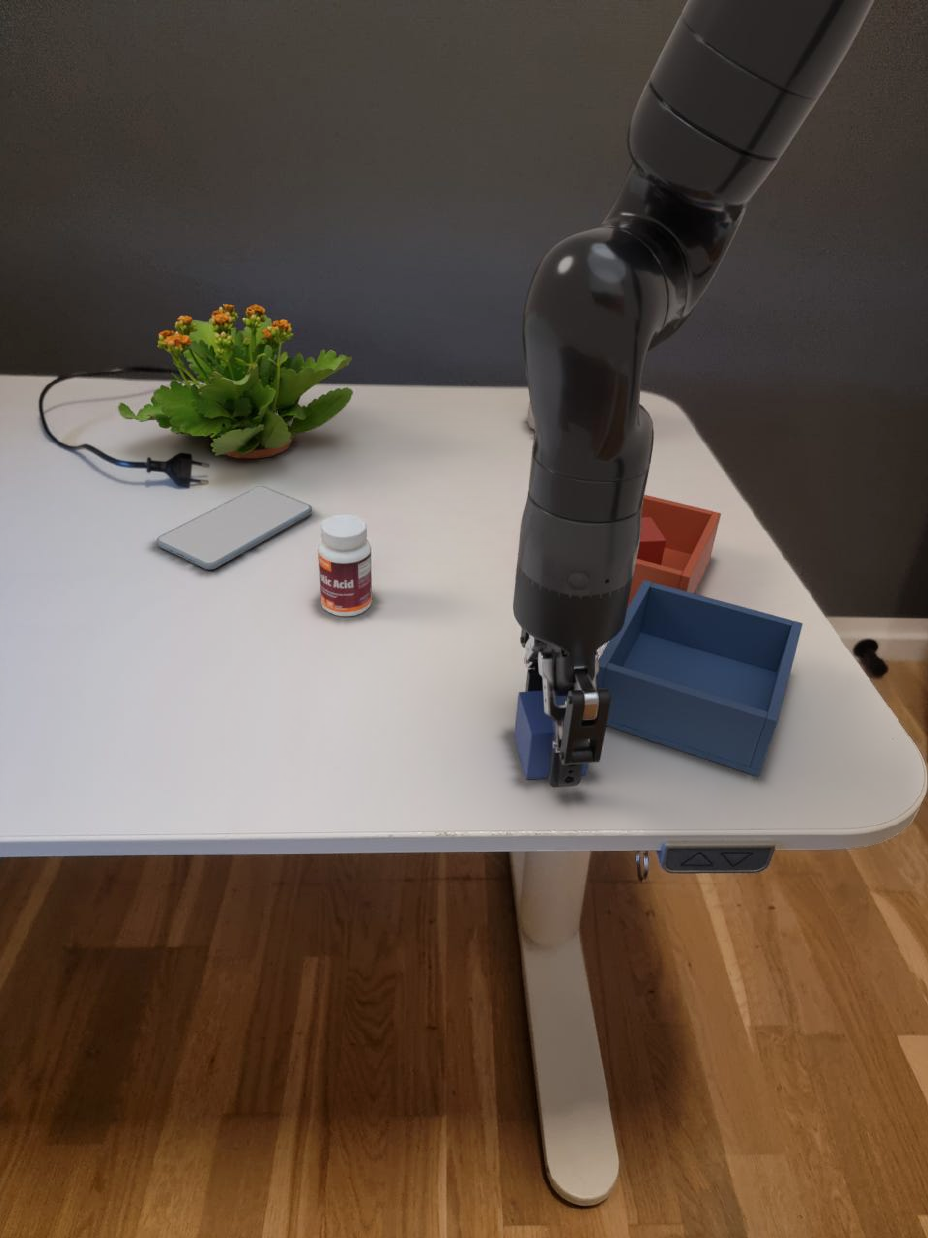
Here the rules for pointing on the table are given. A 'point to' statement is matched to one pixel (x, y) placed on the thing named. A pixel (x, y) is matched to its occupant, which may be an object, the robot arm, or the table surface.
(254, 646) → the table surface
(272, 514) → the smartphone
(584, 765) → the blue block
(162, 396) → the potted flower
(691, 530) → the terracotta bin
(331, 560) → the pill bottle
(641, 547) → the red block
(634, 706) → the slate bin
